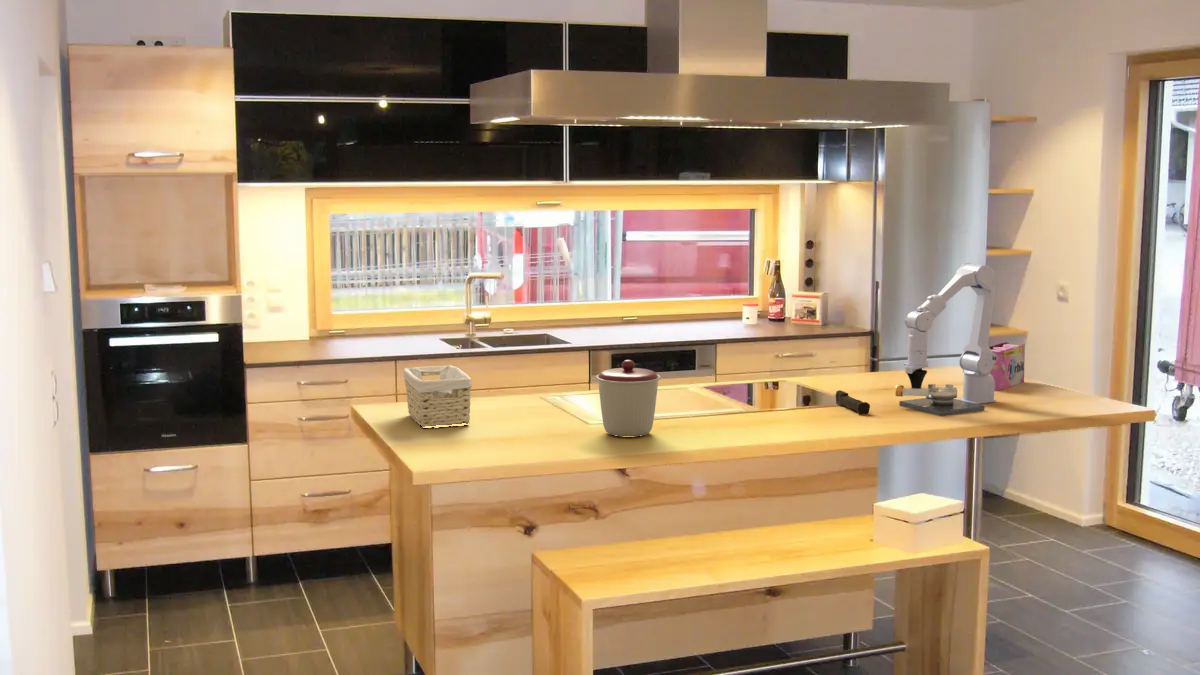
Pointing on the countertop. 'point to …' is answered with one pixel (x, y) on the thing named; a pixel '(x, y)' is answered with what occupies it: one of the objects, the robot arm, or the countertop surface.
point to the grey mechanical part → (928, 391)
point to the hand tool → (851, 403)
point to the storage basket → (438, 395)
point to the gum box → (1007, 365)
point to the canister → (628, 399)
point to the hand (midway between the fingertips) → (916, 392)
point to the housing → (942, 406)
